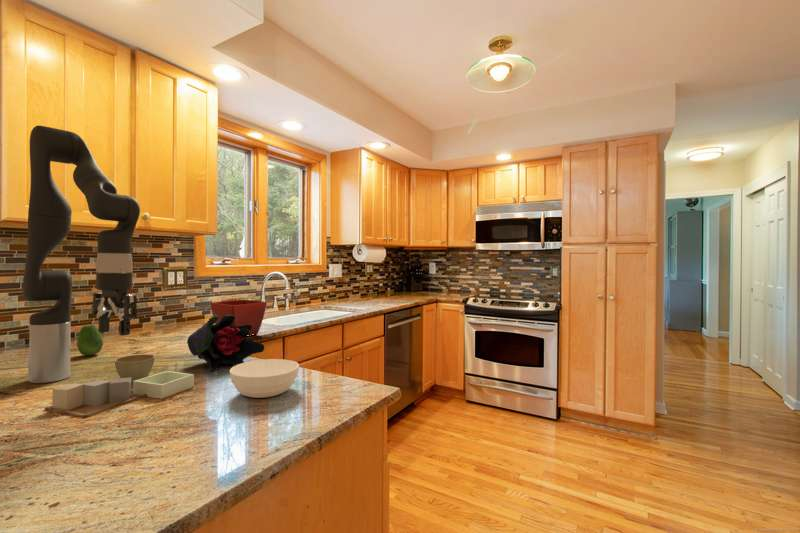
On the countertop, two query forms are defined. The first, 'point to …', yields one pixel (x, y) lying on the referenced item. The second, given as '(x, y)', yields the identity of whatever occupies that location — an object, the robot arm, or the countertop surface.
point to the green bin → (163, 384)
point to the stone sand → (67, 396)
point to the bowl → (264, 377)
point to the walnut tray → (94, 407)
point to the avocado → (89, 340)
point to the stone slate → (96, 392)
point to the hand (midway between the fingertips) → (114, 333)
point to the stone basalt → (120, 390)
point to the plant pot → (241, 312)
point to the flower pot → (134, 366)
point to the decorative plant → (222, 342)
